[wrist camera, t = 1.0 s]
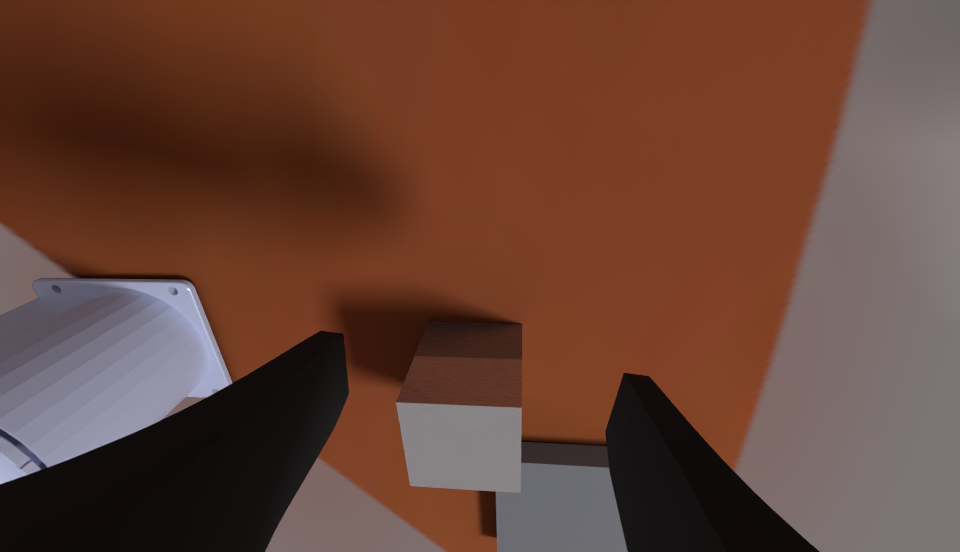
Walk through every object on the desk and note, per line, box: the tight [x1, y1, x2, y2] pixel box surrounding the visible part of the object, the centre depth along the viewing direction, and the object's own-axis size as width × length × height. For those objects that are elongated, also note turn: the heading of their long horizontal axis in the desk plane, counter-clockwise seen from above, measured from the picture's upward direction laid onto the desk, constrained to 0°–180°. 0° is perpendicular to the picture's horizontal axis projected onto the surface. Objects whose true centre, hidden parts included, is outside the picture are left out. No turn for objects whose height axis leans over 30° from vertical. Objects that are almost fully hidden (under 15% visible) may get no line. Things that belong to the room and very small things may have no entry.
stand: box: [496, 442, 628, 552], centre depth 26 cm, size 10×10×2 cm
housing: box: [396, 322, 522, 493], centre depth 20 cm, size 5×5×6 cm
